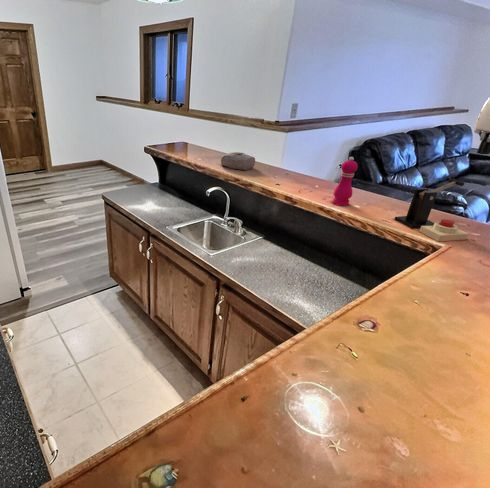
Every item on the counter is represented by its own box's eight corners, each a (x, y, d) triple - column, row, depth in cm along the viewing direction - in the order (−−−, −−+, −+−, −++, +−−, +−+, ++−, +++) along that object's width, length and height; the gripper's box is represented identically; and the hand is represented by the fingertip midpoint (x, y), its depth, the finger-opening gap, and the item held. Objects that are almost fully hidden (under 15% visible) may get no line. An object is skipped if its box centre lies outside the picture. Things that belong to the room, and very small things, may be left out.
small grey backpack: (257, 167, 205) (228, 161, 217) (259, 153, 201) (230, 148, 214) (243, 172, 195) (214, 165, 207) (245, 157, 191) (215, 151, 204)
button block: (445, 230, 126) (450, 219, 124) (466, 239, 119) (470, 228, 117) (418, 231, 124) (422, 221, 123) (437, 241, 117) (442, 230, 116)
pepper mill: (337, 199, 155) (348, 154, 146) (353, 204, 149) (365, 157, 140) (327, 202, 151) (338, 156, 142) (343, 207, 146) (355, 159, 137)
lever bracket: (417, 218, 136) (428, 186, 130) (436, 227, 128) (449, 194, 122) (394, 219, 135) (404, 187, 129) (412, 228, 127) (424, 195, 121)
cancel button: (445, 223, 122) (447, 219, 121) (455, 227, 119) (457, 223, 118) (436, 224, 121) (438, 219, 121) (445, 228, 118) (447, 223, 117)
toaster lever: (452, 182, 129) (452, 176, 127) (464, 186, 124) (464, 180, 123) (415, 197, 129) (415, 191, 128) (426, 202, 125) (426, 196, 124)
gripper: (545, 95, 101) (516, 158, 109) (494, 92, 114) (471, 149, 122) (523, 95, 100) (495, 159, 108) (474, 92, 113) (453, 149, 121)
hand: (482, 153), depth 115 cm, fingers closed
